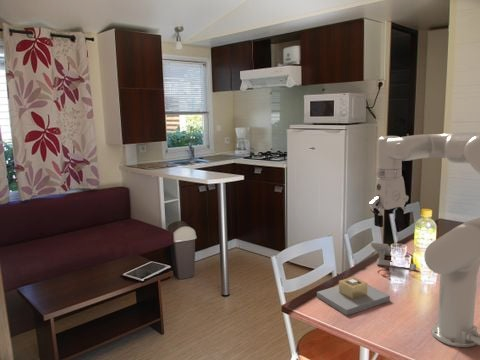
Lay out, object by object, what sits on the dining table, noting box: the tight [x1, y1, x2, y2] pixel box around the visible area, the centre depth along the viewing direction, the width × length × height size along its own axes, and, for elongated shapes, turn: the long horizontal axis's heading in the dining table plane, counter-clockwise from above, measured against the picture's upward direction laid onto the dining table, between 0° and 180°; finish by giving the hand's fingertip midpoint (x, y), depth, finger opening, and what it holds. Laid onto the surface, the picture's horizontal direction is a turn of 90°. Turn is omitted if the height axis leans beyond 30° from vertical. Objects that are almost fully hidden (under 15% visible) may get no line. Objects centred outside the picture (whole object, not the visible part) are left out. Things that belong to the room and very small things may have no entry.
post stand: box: [316, 279, 391, 316], centre depth 150 cm, size 16×20×7 cm
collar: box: [338, 276, 368, 300], centre depth 150 cm, size 7×7×4 cm
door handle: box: [370, 242, 417, 271], centre depth 180 cm, size 18×8×20 cm
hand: (389, 223), depth 139 cm, fingers open, 9 cm apart
